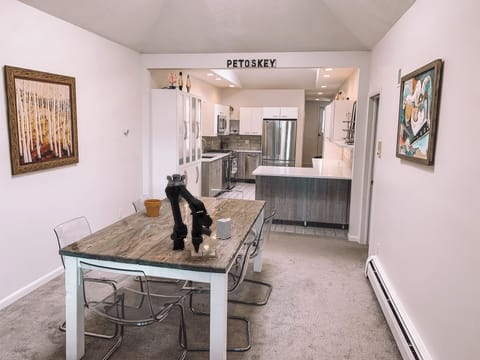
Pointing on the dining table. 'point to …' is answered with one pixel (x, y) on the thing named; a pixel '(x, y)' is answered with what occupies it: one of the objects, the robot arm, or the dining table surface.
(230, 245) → the dining table surface
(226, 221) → the supplement box
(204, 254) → the ticket board
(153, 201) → the flower pot
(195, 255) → the stub
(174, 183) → the decorative vase
